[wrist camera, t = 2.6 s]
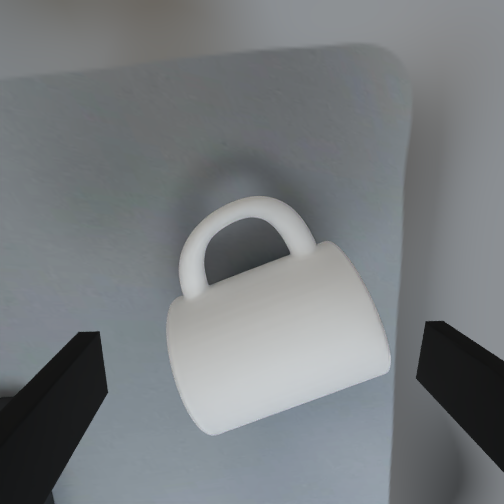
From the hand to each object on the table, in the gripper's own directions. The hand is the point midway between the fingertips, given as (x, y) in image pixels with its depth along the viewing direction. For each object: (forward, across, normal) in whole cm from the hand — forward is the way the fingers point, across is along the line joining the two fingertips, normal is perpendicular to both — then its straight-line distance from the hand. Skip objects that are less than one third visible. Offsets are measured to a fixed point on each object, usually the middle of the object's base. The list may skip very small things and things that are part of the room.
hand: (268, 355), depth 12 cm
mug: (+9, 0, 0) cm, 9 cm away
